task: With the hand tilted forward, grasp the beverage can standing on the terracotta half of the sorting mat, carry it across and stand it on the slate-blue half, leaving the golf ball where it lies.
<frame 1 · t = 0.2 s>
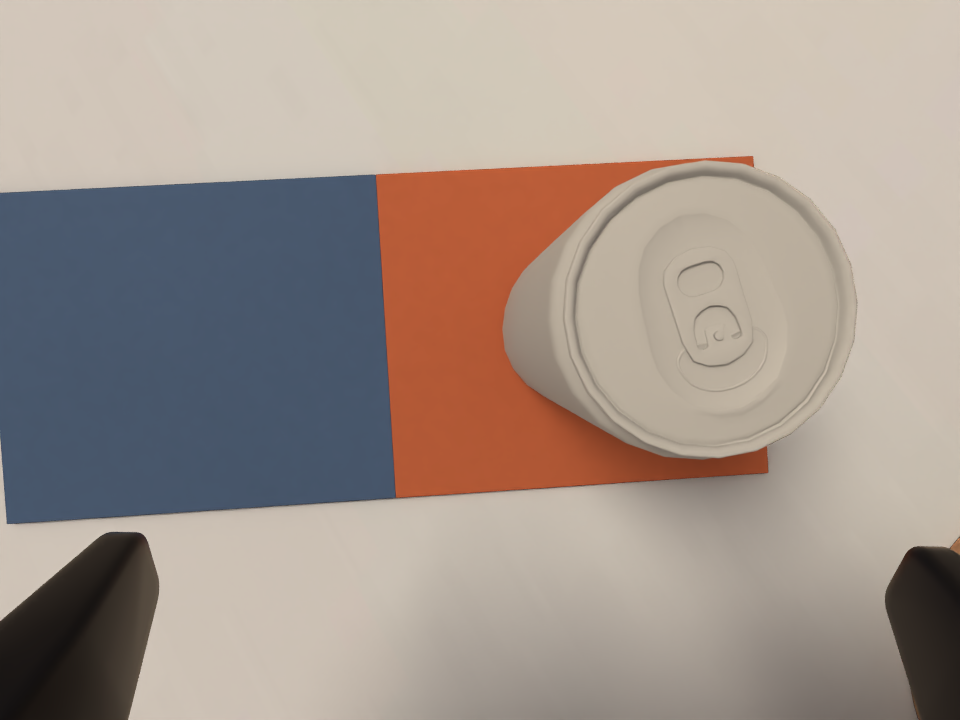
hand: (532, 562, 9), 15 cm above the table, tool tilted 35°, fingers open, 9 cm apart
sorting mat: (194, 348, 23), on the table
beverage can: (574, 326, 24), resting on sorting mat
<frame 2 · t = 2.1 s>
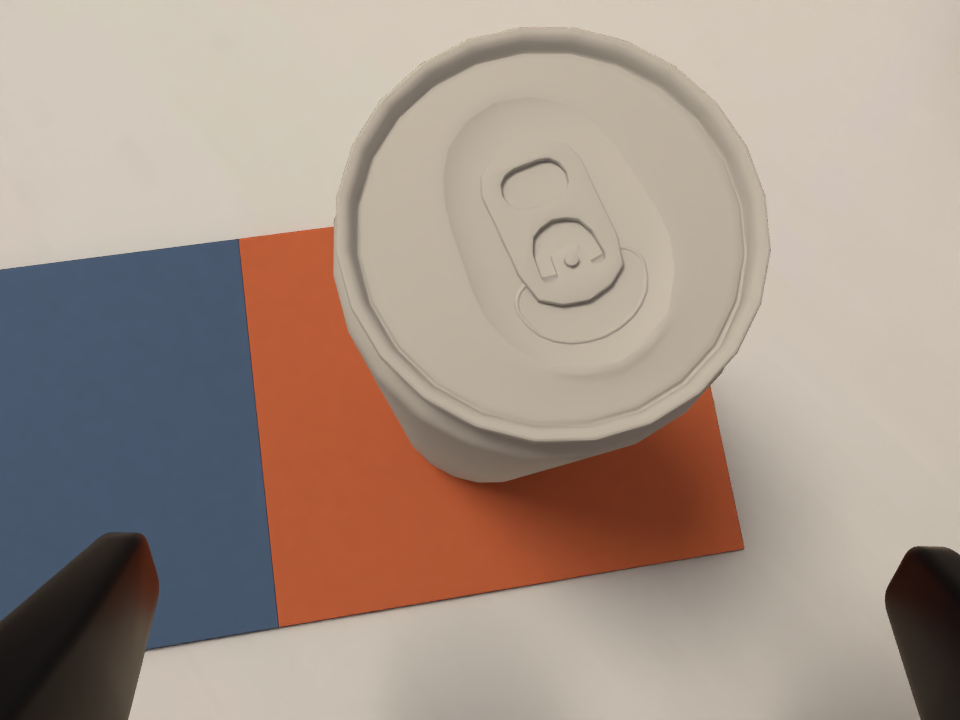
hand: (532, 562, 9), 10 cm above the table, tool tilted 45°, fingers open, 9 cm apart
sorting mat: (22, 460, 19), on the table
beverage can: (486, 391, 20), resting on sorting mat
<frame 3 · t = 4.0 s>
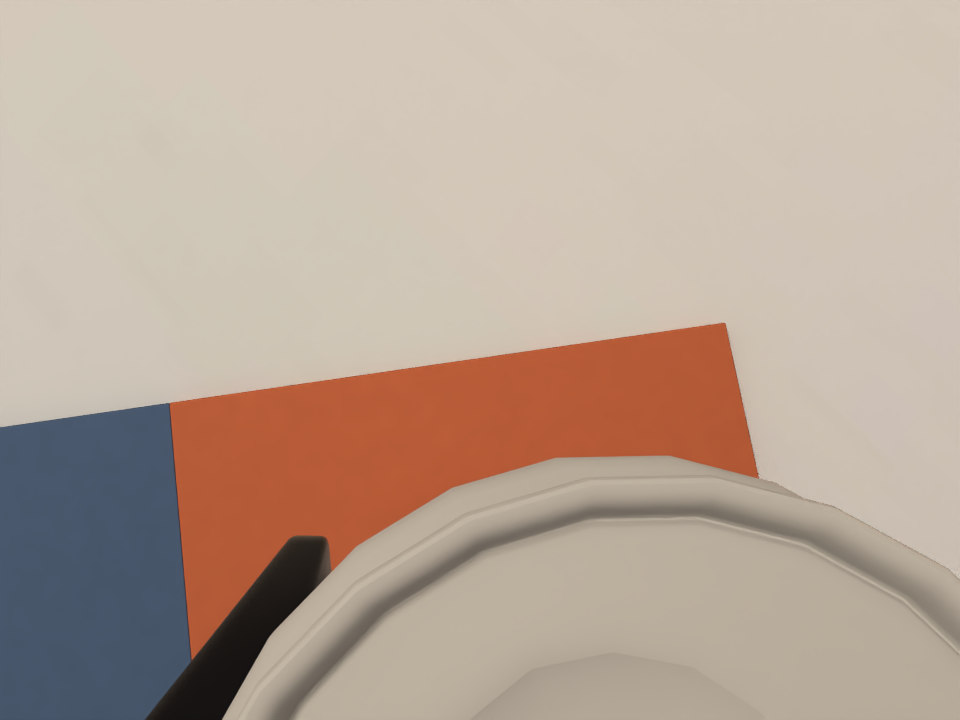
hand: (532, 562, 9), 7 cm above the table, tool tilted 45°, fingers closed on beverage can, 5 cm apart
beverage can: (492, 604, 15), resting on sorting mat, touching gripper
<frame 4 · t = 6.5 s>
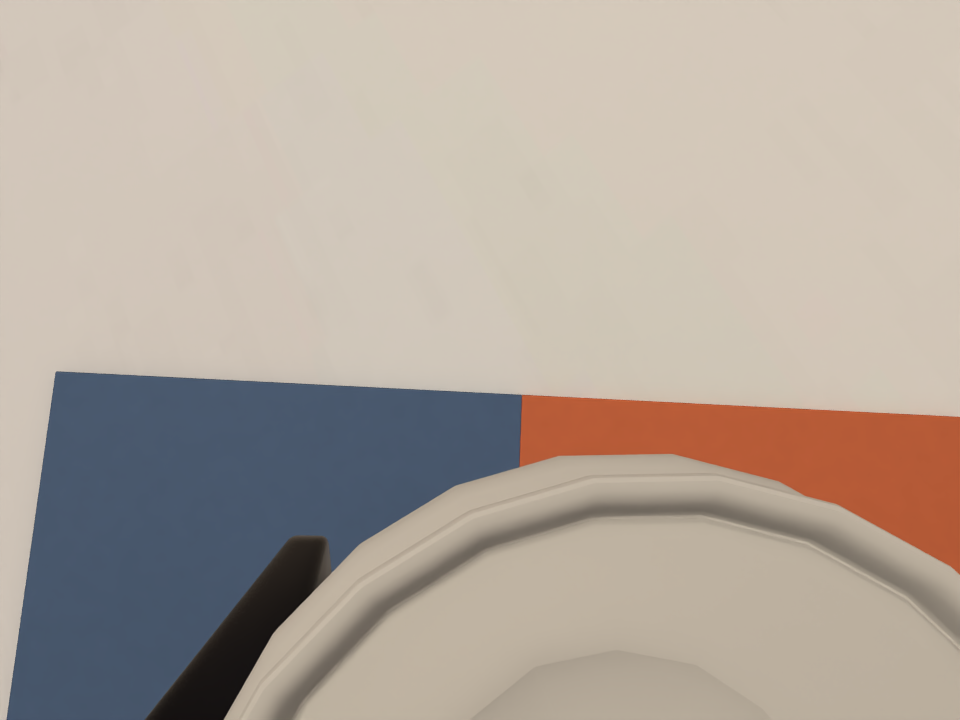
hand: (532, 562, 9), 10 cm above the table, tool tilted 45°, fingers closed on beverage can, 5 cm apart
sorting mat: (275, 585, 18), on the table
beverage can: (493, 603, 15), point 4 cm above the table, touching gripper
when the fingers open (7 cm above the table, at t = 8.9 s): beverage can stays where it is, resting on sorting mat.
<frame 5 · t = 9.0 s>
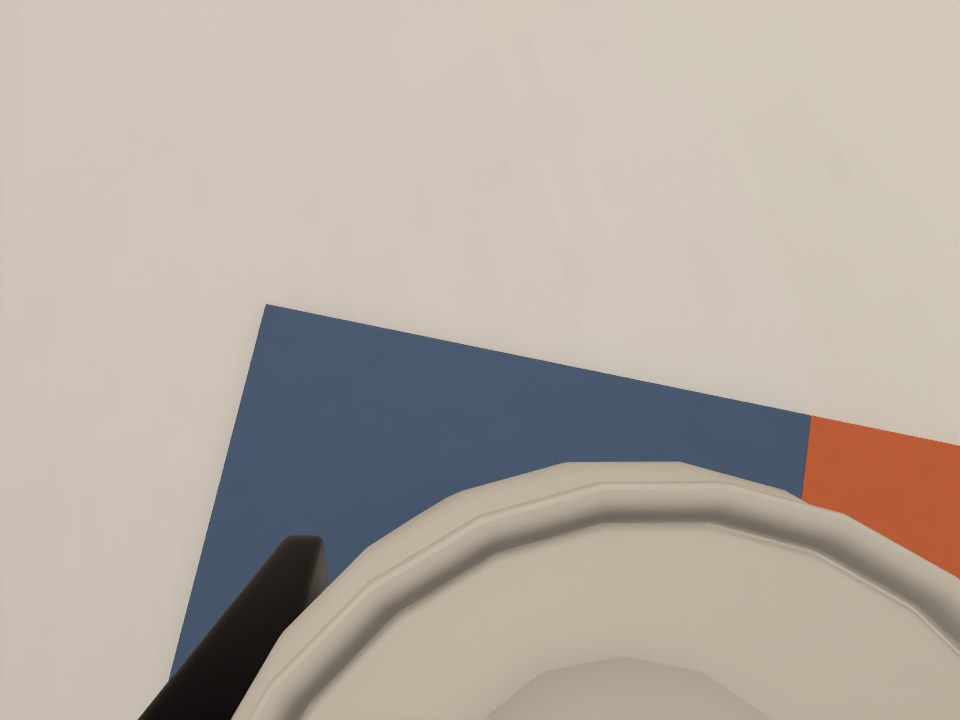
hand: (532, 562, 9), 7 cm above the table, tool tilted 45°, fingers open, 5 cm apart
sorting mat: (494, 600, 15), on the table
beverage can: (492, 609, 15), resting on sorting mat
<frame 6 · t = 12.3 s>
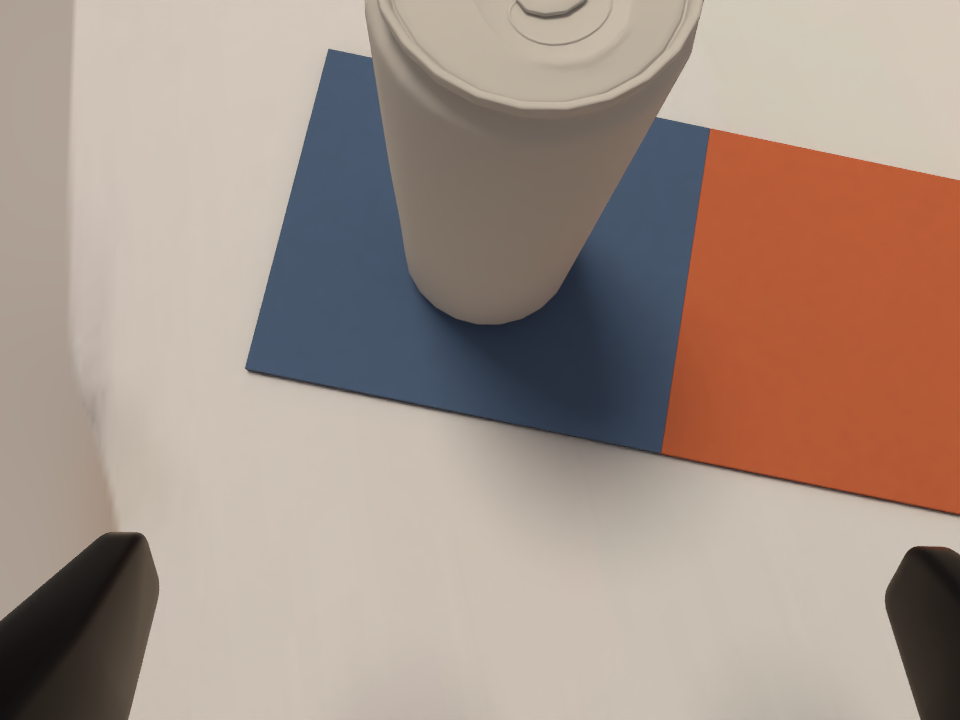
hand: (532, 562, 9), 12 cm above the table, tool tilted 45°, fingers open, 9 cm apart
sorting mat: (487, 245, 22), on the table
beverage can: (486, 251, 22), resting on sorting mat
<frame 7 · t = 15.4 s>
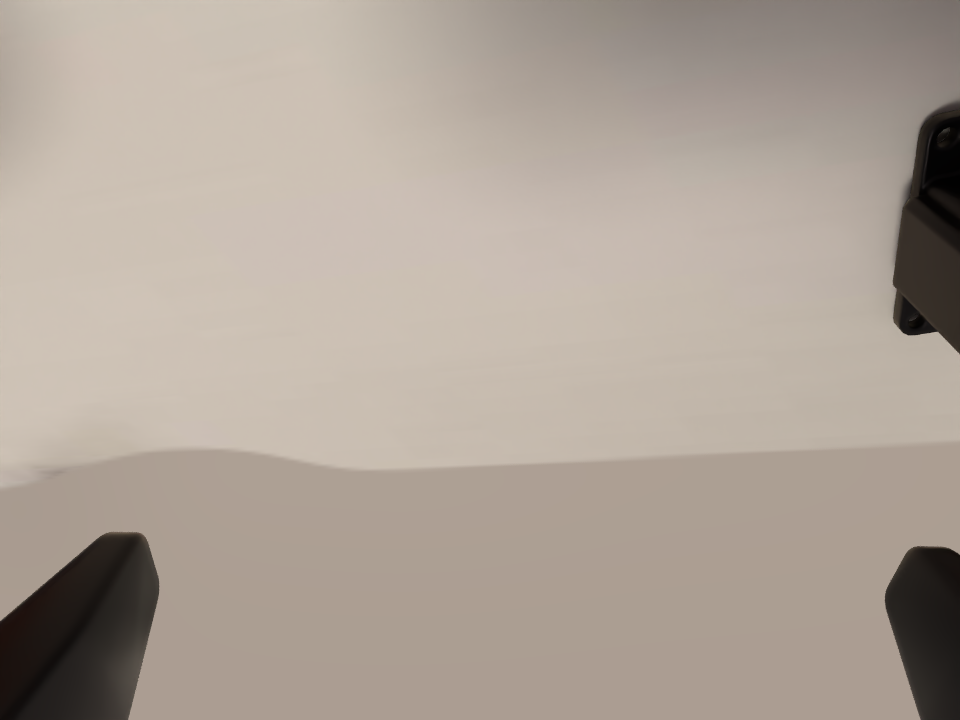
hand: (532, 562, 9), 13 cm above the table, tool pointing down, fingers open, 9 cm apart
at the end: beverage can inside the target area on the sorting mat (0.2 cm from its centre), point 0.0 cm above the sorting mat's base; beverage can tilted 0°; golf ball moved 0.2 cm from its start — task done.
